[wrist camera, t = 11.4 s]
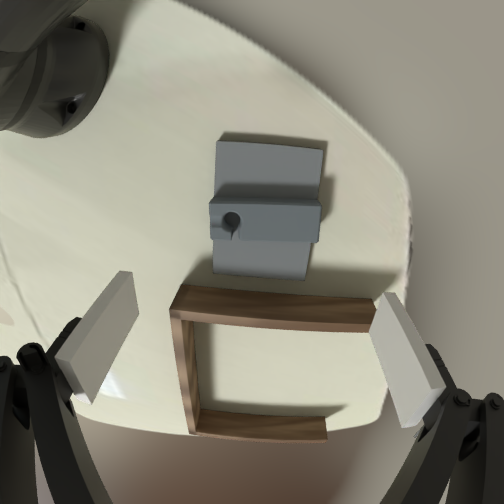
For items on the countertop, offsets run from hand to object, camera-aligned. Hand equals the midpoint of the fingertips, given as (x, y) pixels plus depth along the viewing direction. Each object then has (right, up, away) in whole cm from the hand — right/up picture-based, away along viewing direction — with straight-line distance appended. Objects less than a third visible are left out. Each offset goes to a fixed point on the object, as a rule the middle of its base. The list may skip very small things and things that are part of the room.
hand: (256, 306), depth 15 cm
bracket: (+1, +6, +14) cm, 16 cm away
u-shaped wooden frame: (+2, -14, +25) cm, 29 cm away
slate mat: (+1, +7, +15) cm, 17 cm away
